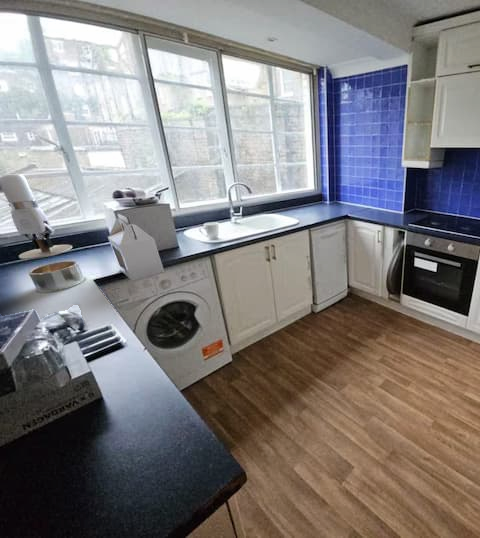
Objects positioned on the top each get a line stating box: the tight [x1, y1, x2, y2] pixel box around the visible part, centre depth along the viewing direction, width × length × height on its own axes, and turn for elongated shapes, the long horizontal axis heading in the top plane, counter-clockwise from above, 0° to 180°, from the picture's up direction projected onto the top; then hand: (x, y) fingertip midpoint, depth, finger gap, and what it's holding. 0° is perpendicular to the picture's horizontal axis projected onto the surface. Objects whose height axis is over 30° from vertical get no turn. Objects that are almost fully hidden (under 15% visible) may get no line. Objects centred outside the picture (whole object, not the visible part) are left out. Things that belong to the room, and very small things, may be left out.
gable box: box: [107, 213, 165, 282], centre depth 140 cm, size 22×13×28 cm, turn 49°
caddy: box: [28, 260, 85, 293], centre depth 132 cm, size 16×16×8 cm
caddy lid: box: [18, 237, 73, 260], centre depth 127 cm, size 17×17×7 cm
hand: (44, 247), depth 127 cm, fingers closed on caddy lid, 3 cm apart
